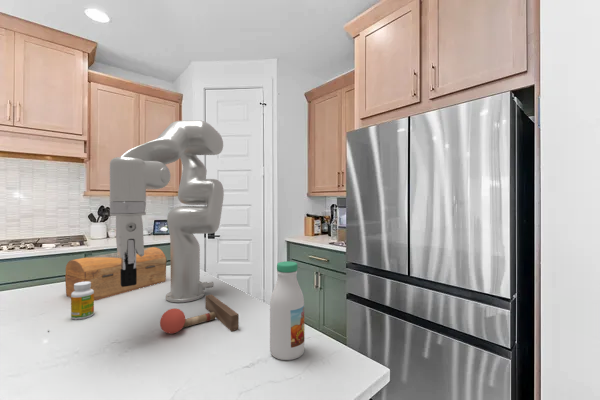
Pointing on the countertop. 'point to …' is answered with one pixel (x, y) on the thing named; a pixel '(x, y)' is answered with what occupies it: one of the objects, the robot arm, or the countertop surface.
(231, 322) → the wall
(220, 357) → the countertop surface
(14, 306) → the countertop surface
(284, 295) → the milk bottle
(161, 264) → the wooden box
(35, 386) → the countertop surface
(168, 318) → the ball
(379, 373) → the countertop surface
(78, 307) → the supplement bottle
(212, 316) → the pin
